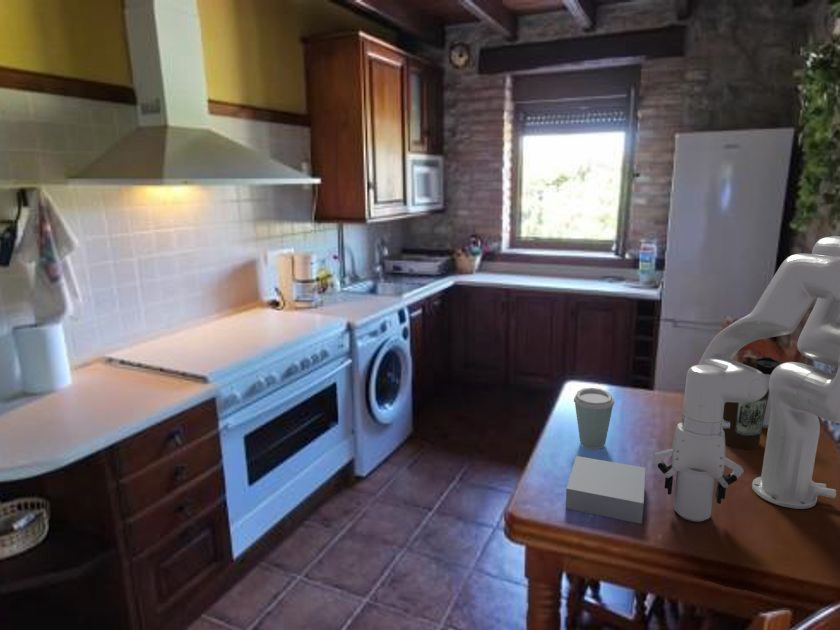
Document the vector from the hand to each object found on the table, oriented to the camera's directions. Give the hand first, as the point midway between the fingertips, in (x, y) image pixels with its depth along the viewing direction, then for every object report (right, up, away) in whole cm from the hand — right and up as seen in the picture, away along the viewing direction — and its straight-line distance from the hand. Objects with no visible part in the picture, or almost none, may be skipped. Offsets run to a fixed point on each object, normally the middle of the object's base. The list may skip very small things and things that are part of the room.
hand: (693, 495), depth 120 cm
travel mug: (+42, +7, +44) cm, 61 cm away
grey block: (-17, -3, +8) cm, 19 cm away
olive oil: (+29, +4, +33) cm, 44 cm away
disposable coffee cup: (-12, +3, +33) cm, 36 cm away
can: (0, -4, +1) cm, 5 cm away
